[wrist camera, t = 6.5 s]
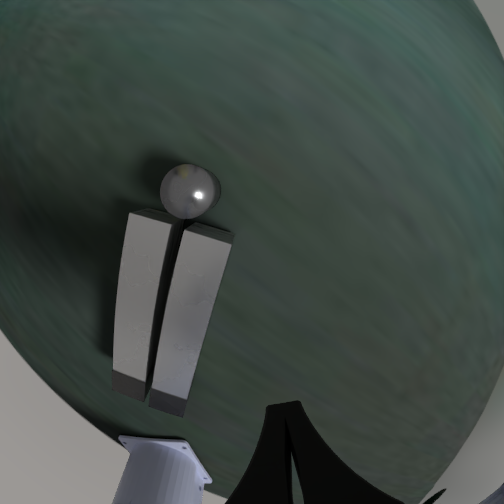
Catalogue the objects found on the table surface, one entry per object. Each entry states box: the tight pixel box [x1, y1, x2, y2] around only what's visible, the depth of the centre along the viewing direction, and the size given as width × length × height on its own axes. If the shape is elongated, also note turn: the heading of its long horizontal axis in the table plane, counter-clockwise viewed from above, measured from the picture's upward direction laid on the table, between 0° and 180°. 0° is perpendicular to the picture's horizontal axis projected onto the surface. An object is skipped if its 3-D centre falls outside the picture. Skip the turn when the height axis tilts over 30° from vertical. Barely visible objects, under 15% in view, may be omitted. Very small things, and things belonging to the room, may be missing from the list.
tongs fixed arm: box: [112, 164, 221, 402], centre depth 15 cm, size 16×4×3 cm, turn 163°
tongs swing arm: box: [149, 222, 235, 418], centre depth 16 cm, size 13×2×3 cm, turn 162°
